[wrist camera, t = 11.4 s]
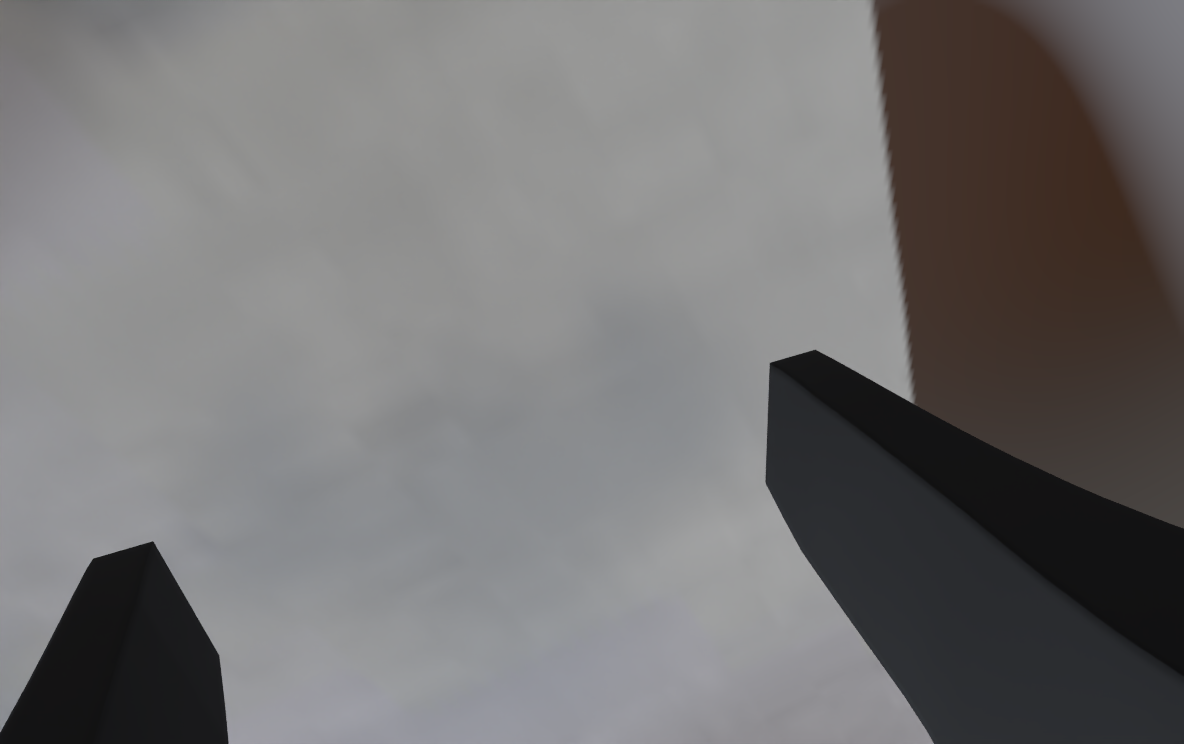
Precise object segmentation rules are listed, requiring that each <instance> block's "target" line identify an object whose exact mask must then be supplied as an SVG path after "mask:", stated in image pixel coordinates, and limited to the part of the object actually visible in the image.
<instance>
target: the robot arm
mask: <svg viewBox="0 0 1184 744" xmlns="http://www.w3.org/2000/svg"><path fill="white" fill-rule="evenodd" d="M766 485H767V487H768V488H769V490H770V492H771V494H772V496H773V498H774V500H775V502H776V504H777V506H778V508H779V510H780V512H781V514H782V516H783V518H784V520H785V522H786V523H787V525H788V527H789V529H790V531H791V532H792V534H793V536H794V538H795V540H796V542H797V543H798V545H799V547H800V549H801V551H802V552H803V554H804V555H805V557H806V558H807V560H808V561H809V562H810V564H811V565H812V567H813V568H814V570H815V571H816V573H817V574H818V575H819V577H820V578H821V580H822V581H823V583H824V584H825V585H826V587H827V588H828V590H829V591H830V593H831V594H832V595H833V597H834V598H835V600H836V601H837V603H838V604H839V605H840V607H841V608H842V610H843V611H844V612H845V614H846V615H847V617H848V618H849V619H850V621H851V622H852V624H853V625H854V626H855V628H856V629H857V631H858V632H859V633H860V635H861V636H862V638H863V639H864V640H865V642H866V643H867V645H868V646H869V647H870V649H871V650H872V652H873V653H874V654H875V656H876V657H877V659H878V660H879V661H880V663H881V664H882V666H883V667H884V668H885V670H886V671H887V673H888V674H889V675H890V677H891V678H892V680H893V681H894V682H895V684H896V685H897V687H898V688H899V689H900V691H901V692H902V694H903V695H904V696H905V698H906V699H907V701H908V703H909V704H910V706H911V707H912V709H913V710H914V712H915V713H916V715H917V716H918V718H919V719H920V721H921V722H922V724H923V726H924V727H925V729H926V730H927V732H928V734H929V735H930V737H931V739H932V741H933V742H934V744H1184V529H1183V528H1180V527H1178V526H1175V525H1172V524H1169V523H1167V522H1164V521H1162V520H1159V519H1156V518H1154V517H1151V516H1149V515H1146V514H1143V513H1141V512H1139V511H1136V510H1134V509H1131V508H1129V507H1126V506H1124V505H1121V504H1119V503H1116V502H1113V501H1111V500H1108V499H1106V498H1103V497H1101V496H1098V495H1096V494H1094V493H1092V492H1089V491H1087V490H1085V489H1082V488H1080V487H1078V486H1075V485H1073V484H1071V483H1069V482H1066V481H1064V480H1062V479H1060V478H1058V477H1056V476H1054V475H1052V474H1049V473H1047V472H1045V471H1043V470H1041V469H1039V468H1037V467H1034V466H1032V465H1030V464H1028V463H1026V462H1024V461H1022V460H1019V459H1017V458H1015V457H1013V456H1011V455H1009V454H1007V453H1005V452H1003V451H1001V450H999V449H997V448H995V447H993V446H991V445H989V444H987V443H985V442H983V441H981V440H979V439H978V438H976V437H974V436H972V435H970V434H968V433H966V432H964V431H962V430H960V429H958V428H957V427H955V426H953V425H951V424H949V423H947V422H945V421H943V420H941V419H940V418H938V417H936V416H934V415H932V414H930V413H929V412H927V411H925V410H923V409H921V408H920V407H918V406H916V405H914V404H912V403H911V402H909V401H907V400H905V399H903V398H902V397H900V396H898V395H896V394H895V393H893V392H891V391H889V390H887V389H886V388H884V387H882V386H880V385H878V384H877V383H875V382H873V381H871V380H870V379H868V378H866V377H864V376H863V375H861V374H859V373H857V372H855V371H854V370H852V369H850V368H848V367H846V366H845V365H843V364H841V363H839V362H837V361H836V360H834V359H832V358H830V357H828V356H826V355H824V354H822V353H820V352H819V351H817V350H813V351H809V352H806V353H803V354H799V355H796V356H792V357H789V358H785V359H782V360H778V361H775V362H771V363H770V373H769V401H768V429H767V456H766ZM0 744H228V733H227V722H226V711H225V701H224V693H223V684H222V676H221V667H220V659H219V654H218V653H217V651H216V649H215V648H214V646H213V644H212V642H211V641H210V639H209V637H208V635H207V634H206V632H205V630H204V629H203V627H202V625H201V623H200V622H199V620H198V618H197V616H196V615H195V613H194V611H193V609H192V608H191V606H190V604H189V603H188V601H187V599H186V597H185V596H184V594H183V592H182V590H181V589H180V587H179V585H178V583H177V582H176V580H175V578H174V577H173V575H172V573H171V571H170V570H169V568H168V566H167V564H166V563H165V561H164V559H163V558H162V556H161V554H160V552H159V551H158V549H157V547H156V545H155V544H154V542H149V543H146V544H142V545H139V546H136V547H132V548H129V549H125V550H122V551H118V552H115V553H111V554H108V555H104V556H101V557H97V558H94V559H93V560H92V562H91V563H90V565H89V566H88V568H87V569H86V571H85V573H84V575H83V577H82V579H81V581H80V583H79V585H78V587H77V588H76V590H75V592H74V594H73V596H72V598H71V600H70V602H69V604H68V606H67V608H66V610H65V612H64V614H63V616H62V618H61V620H60V622H59V624H58V626H57V628H56V630H55V632H54V633H53V635H52V637H51V639H50V641H49V643H48V645H47V647H46V649H45V651H44V653H43V655H42V657H41V659H40V660H39V662H38V664H37V666H36V668H35V670H34V672H33V674H32V676H31V678H30V680H29V681H28V683H27V685H26V687H25V689H24V691H23V692H22V694H21V696H20V698H19V700H18V702H17V703H16V705H15V707H14V709H13V711H12V712H11V714H10V716H9V718H8V720H7V721H6V723H5V725H4V727H3V729H2V731H1V732H0Z"/></svg>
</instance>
